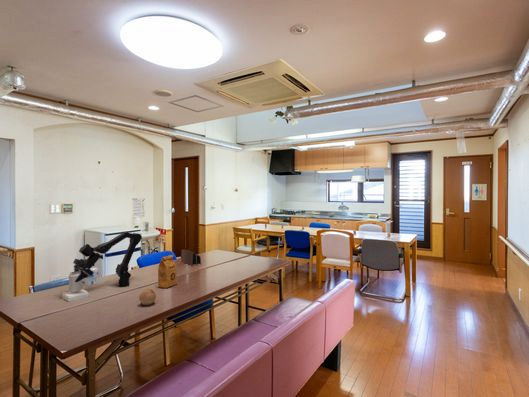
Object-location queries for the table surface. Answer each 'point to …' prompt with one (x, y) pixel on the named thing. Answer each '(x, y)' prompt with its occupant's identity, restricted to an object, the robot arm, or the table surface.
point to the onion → (147, 297)
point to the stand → (75, 295)
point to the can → (72, 284)
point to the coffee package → (167, 272)
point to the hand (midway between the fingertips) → (73, 280)
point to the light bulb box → (91, 277)
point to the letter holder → (190, 258)
